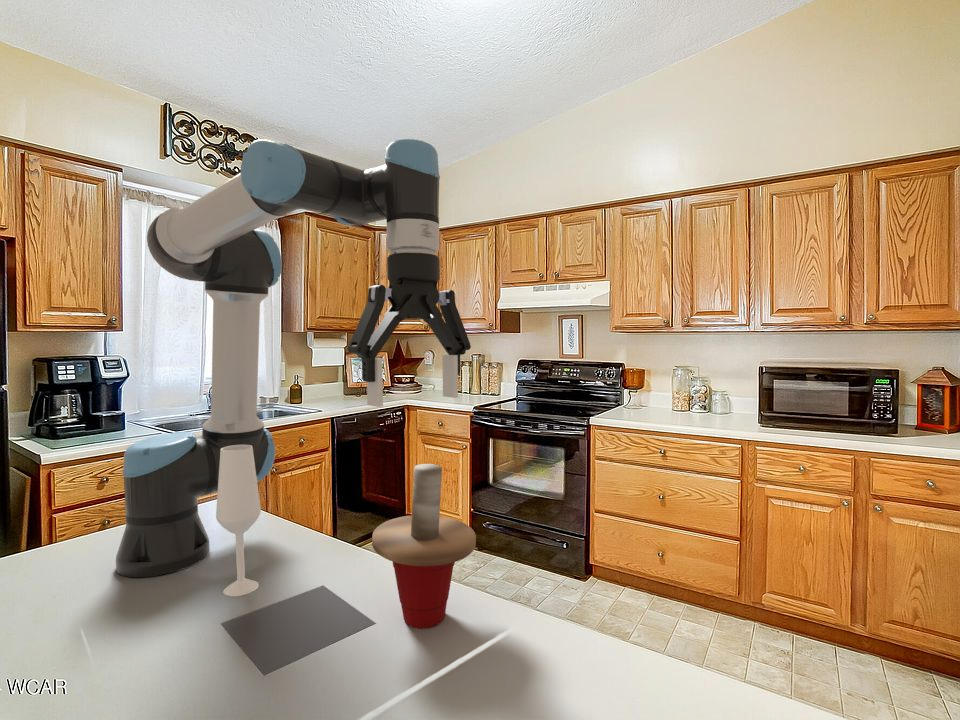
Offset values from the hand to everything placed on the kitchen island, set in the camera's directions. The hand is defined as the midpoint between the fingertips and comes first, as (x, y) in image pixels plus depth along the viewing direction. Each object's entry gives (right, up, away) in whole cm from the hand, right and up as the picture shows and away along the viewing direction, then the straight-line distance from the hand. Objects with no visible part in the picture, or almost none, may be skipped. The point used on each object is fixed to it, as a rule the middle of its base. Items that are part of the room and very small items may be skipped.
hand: (415, 401), depth 75 cm
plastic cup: (+1, -33, +1) cm, 33 cm away
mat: (-17, -33, -1) cm, 37 cm away
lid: (+1, -21, 0) cm, 20 cm away
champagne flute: (-30, -33, +10) cm, 46 cm away
